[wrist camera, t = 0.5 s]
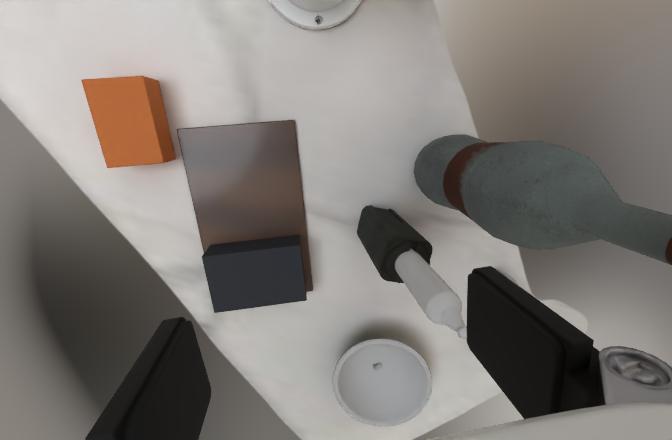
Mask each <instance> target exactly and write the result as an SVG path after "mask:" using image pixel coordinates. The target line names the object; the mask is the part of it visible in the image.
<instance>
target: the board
mask: <svg viewBox="0 0 672 440" xmlns="http://www.w3.org/2000/svg"><path fill="white" fill-rule="evenodd" d="M177 133H178V138H179V142H180V147H181V151H182V156H183V160H184V165H185V169H186V174H187V178H188V183H189V187H190V192H191V196H192V201H193V205H194V210H195V214H196V219H197V223H198V228H199V233H200V237H201V242H202V246H203V251H204V253H205V252H206V250H207V249H208V247H209V246H210V245H213V244H222V243H231V242H239V241H248V240H257V239H265V238H274V237H283V236H291V235H300V243H301V251H302V260H303V268H304V277H305V285H306V292H308V291H313V285H312V276H311V267H310V258H309V249H308V240H307V231H306V222H305V213H304V204H303V195H302V186H301V177H300V168H299V159H298V150H297V141H296V132H295V123H294V120H286V121H274V122H261V123H249V124H236V125H223V126H211V127H198V128H186V129H177Z"/></svg>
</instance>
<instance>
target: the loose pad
mask: <svg viewBox="0 0 672 440" xmlns="http://www.w3.org/2000/svg"><path fill="white" fill-rule="evenodd" d="M82 84H83V87H84V91H85V94H86V97H87V101H88V104H89V107H90V111H91V114H92V118H93V121H94V124H95V128H96V131H97V134H98V138H99V141H100V145H101V148H102V151H103V155H104V158H105V161H106V165H107V168H113V167H125V166H136V165H147V164H158V163H165V162H168V161H171V160H174V159H176V157H175V153H174V148H173V144H172V139H171V135H170V131H169V126H168V122H167V118H166V113H165V109H164V104H163V100H162V96H161V91H160V87H159V82H158V80H154V79H151V78H148V77H144V76H133V77H117V78H101V79H85V80H82Z"/></svg>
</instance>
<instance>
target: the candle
mask: <svg viewBox="0 0 672 440" xmlns="http://www.w3.org/2000/svg"><path fill="white" fill-rule="evenodd" d="M357 234H358V237H359V238H360V240H361V242H362V244H363V245H364V247H365V249H366V251H367V253H368V254H369V256H370V258H371V260H372V261H373V263H374V265H375V267H376V269H377V270H378V272H379V274H380V276H381V277H382V278H383V279H384V280H386V281H392V282H398V283H405V285H406V286H407V288H408V289H409V291H410V292H411V294H412V295H413V296H414V298H415V299H416V301H417V302H418V304H419V305H420V307H421V308H422V310H423V311H424V313H425V314H426V315H427V317H428V318H429V319H430V320H431V321H432V322H434V323H436V324H440V325H446V326H448V327H450V328H451V329H453V330H454V331H456V332H457V333H458V336H459V337H460V338H462V339H466V338H467V327H465V325H464V322H463V319H462V316H461V310H462V303H461V300H460V298H459V297H458V295H457V294H456V293H455V292H454V291H453V290H452V289H451V288H450V287H449V286H448V285H447V284H446V282H445V281H444V280H443V279H442V278H441V277H440V276H439V275H438V274H437V273H436V272H435V271H434V270H433V269H432V268H431V267H430V258H431V255H432V246H431V244H430V243H429V242H428V241H427V240H426V239H425V238H424V237H423V236H421V235H420V234H419V233H418V232H417V231H416V230H415V229H414V228H412V227H411V226H410V225H409V224H408V223H407V222H406V221H405V220H404V219H402V218H401V217H400V216H399V215H398V214H397V213H396V212H395V211H393V210H392V209H389V210H386V209H381V208H375V207H373V206H366V207H365V208H364V209H363V210H362V213H361V217H360V221H359V225H358V230H357Z"/></svg>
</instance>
